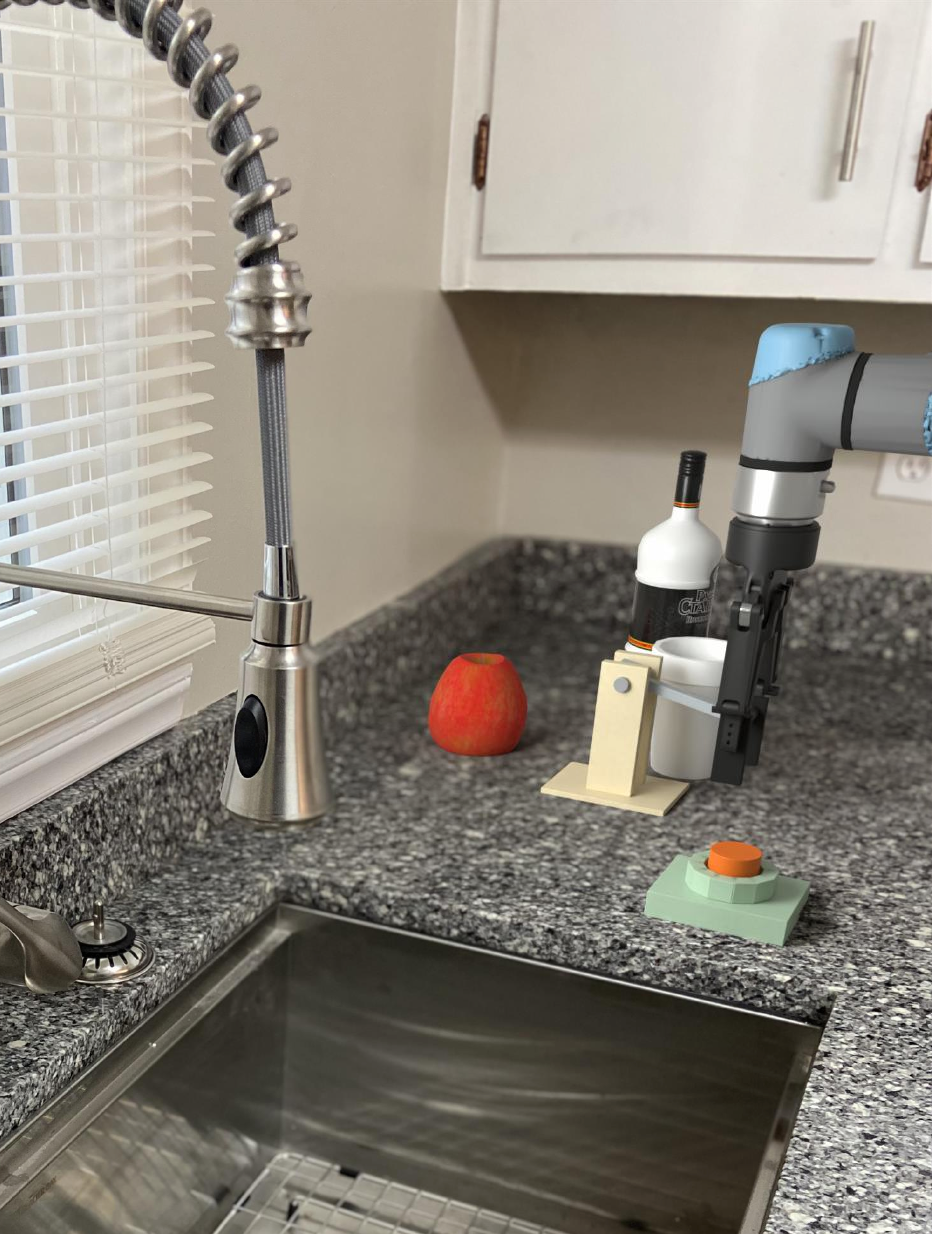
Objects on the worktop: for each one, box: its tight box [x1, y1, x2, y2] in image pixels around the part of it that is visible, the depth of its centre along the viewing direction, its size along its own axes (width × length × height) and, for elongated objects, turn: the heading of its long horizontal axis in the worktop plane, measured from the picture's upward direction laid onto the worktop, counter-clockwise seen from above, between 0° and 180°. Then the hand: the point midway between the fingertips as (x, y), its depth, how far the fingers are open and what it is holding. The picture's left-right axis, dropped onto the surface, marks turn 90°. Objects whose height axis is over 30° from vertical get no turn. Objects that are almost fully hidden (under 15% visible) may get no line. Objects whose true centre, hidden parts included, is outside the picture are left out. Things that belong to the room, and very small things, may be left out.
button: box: [707, 840, 763, 878], centre depth 120 cm, size 4×4×2 cm
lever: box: [620, 658, 758, 721], centre depth 138 cm, size 13×6×2 cm, turn 59°
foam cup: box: [650, 637, 727, 781], centre depth 148 cm, size 10×9×13 cm
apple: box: [427, 651, 529, 757], centre depth 156 cm, size 10×10×10 cm
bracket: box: [540, 649, 690, 818], centre depth 142 cm, size 12×9×14 cm
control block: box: [643, 849, 812, 947], centre depth 121 cm, size 11×9×4 cm
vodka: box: [624, 449, 723, 654], centre depth 155 cm, size 9×9×30 cm
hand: (734, 772), depth 139 cm, fingers closed on lever, 5 cm apart
